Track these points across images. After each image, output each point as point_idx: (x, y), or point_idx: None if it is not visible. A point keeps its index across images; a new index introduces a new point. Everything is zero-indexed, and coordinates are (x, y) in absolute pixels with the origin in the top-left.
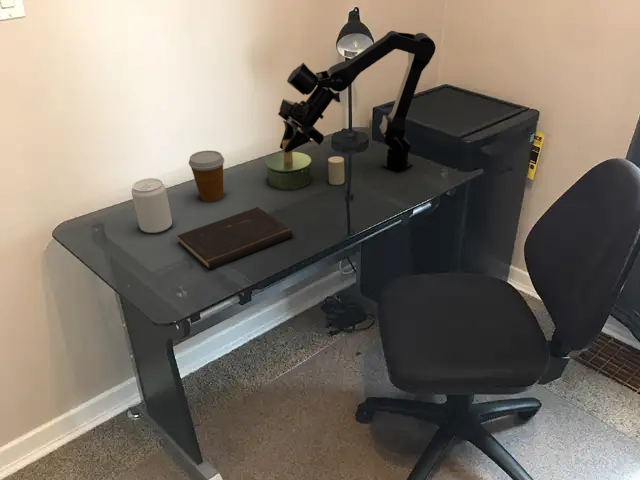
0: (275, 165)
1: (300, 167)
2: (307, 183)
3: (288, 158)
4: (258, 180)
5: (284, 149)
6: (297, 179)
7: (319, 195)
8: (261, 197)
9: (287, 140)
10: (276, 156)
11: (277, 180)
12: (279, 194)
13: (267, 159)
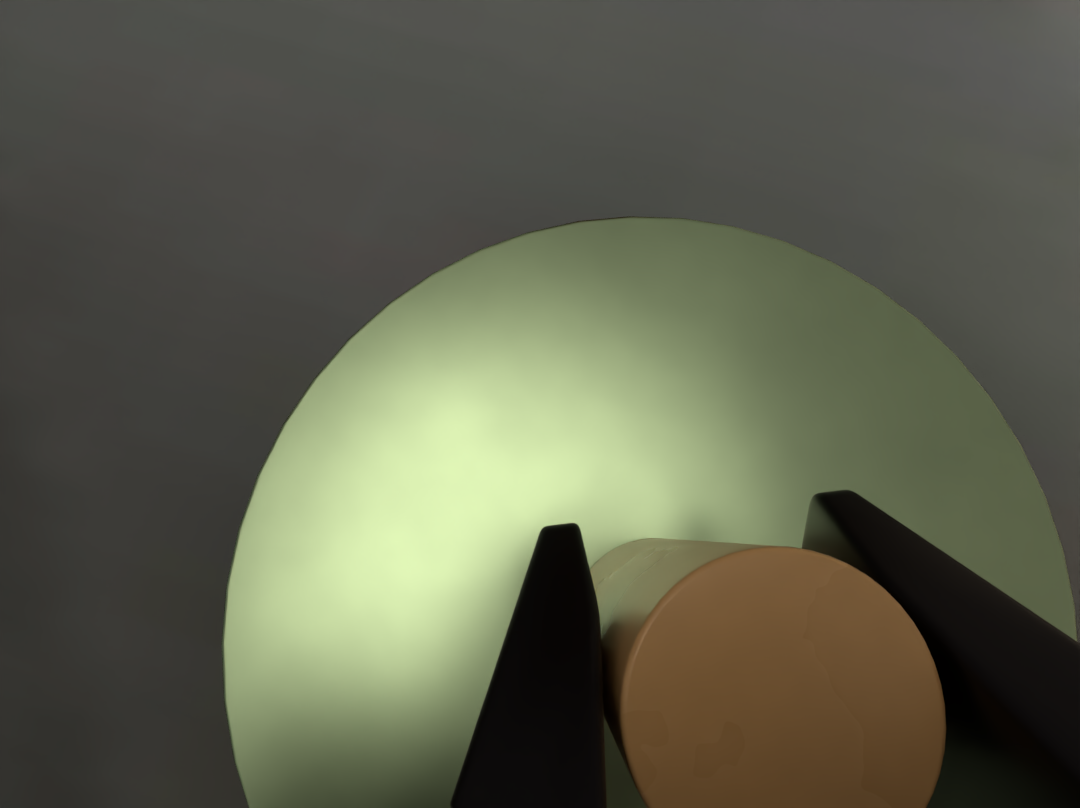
0: (555, 344)
1: (268, 740)
2: None
3: None
4: None
5: (573, 537)
6: None
7: (37, 803)
8: (323, 151)
9: (840, 757)
10: (932, 482)
11: None
12: (300, 354)
13: (858, 296)
